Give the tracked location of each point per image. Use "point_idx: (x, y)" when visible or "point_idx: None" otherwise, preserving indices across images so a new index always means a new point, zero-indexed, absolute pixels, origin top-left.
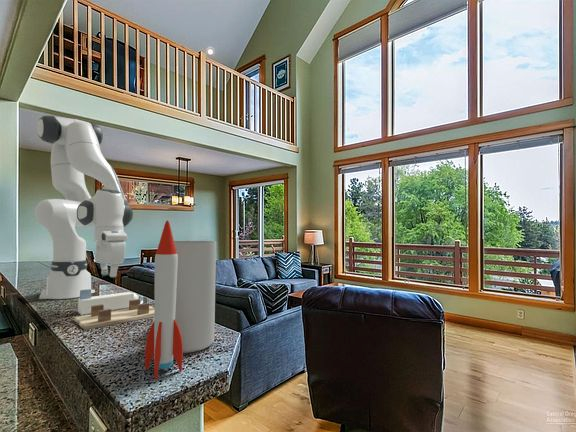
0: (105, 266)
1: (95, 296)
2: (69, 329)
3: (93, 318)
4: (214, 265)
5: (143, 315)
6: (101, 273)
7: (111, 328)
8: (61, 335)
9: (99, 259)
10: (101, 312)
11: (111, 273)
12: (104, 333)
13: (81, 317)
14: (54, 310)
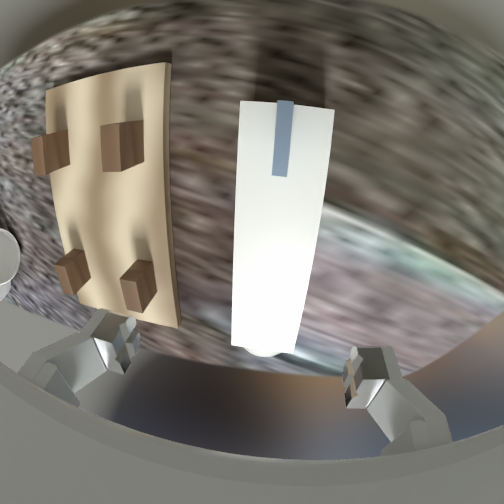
0: (389, 422)
1: (313, 203)
2: (81, 51)
3: (100, 121)
4: None
5: (65, 253)
6: (390, 348)
7: None
8: (52, 40)
9: (405, 476)
10: (34, 143)
11: (86, 326)
12: (17, 133)
13: (140, 84)
14: (435, 67)
